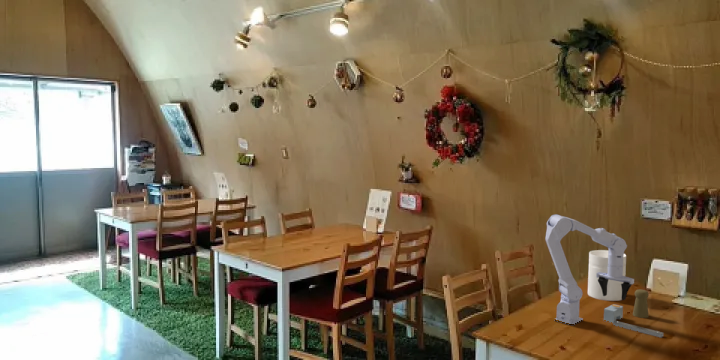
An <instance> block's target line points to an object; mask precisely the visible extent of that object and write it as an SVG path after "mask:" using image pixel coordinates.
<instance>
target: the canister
mask: <svg viewBox="0 0 720 360" xmlns="http://www.w3.org/2000/svg"><path fill="white" fill-rule="evenodd" d="M608 250H609V249H608ZM608 250H607V249H598V250H597V249H596V250H590V251H589V252H588V272H587V273H588V274H587V275H588V276H587V277H588V278H587V295H588V297H590V298H593V299H596V300H600V301H611V302H616V301H617V302H618V301H623V300H622V287H621V284H622V283H624V282H620V281H615V280H610V279H608V284H607V295H606V296H603V293H602V289H601V286H600V284H599V282H598V279H599V278H597V277H596V275H597V273H598V272H601V273H608ZM626 266H627V255H626V253H624V257H623V276H625V277H626V275H627V274H626V272H627V271H626Z"/></svg>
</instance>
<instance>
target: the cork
mask: <svg viewBox="0 0 720 360" xmlns="http://www.w3.org/2000/svg"><path fill="white" fill-rule="evenodd" d="M634 297H635V301H634V304H633V305H634V306H633V309H632V311H633V312H632V316H634V317H636V318H641V319H647V318H649V317H650V316H649V308H648V298H649V292H648V290H645V289H639V288H638V289H636V290H635V291H634Z"/></svg>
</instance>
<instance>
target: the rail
mask: <svg viewBox="0 0 720 360" xmlns="http://www.w3.org/2000/svg"><path fill="white" fill-rule="evenodd" d="M612 324H613V326H614V325H615V327H618V326H619V328H622V327H623V329H626V330H630V329H631V331H633V332H637V331H638V333H641V334H642V333H643V334H646V335H650V336H654V337H656V338H663V337H664V332H662V331H658V330H654V329H651V328H645V327H642V326H639V325H634V324H629V323H625V322H623V321H618V320H616V321H614V322H613V323H612Z"/></svg>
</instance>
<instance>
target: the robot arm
mask: <svg viewBox="0 0 720 360" xmlns="http://www.w3.org/2000/svg"><path fill="white" fill-rule="evenodd" d="M570 231H571V232H574V231H578V232H581V233H583V234H585V235H587V236H590V238H591V239H592V240H591V241H593V242H595V243H597V244H600V245H602V246H604V247H606V248H607V249H608V273H601V272H598V273H597V275H596V277H597V278H599V279H598V282H599V284H600V286H601V289H602V293H603V296H606V295H607V284H608V279H610V280H615V281H620V282H624V283H622V284H621V287H622V300H621V301H625V300H626V299H627V294H628V292H629V290H630V288H631V287H632V285H634V284H635V278H632V277H629V276H626V275H625V276H623V257H624V254H625V250H626V249H627V247H628V244H627V243H626V240H625V239H623V238H622V237H620V236H618V235H617V234H616V233H610V232H609V231H607V229H605V228H603V227H599V228H595V229H594V228H592V227H591V226H588V225H586V224H585V223H583V222H580V221H578V220H576V219H573V218H570V217H567V216H563V215H560V214H557V213H556V214H552V215H551V216H550V217H549V218H548V220H547V222H546V232H545V243H546V246H547V248H548V251H549V254H550V256H551V260H552V262H553V264H554V267H555V270H556V272H557V276H558V281H557V282H558V291H559V292H560V293H561V295H560V302H558V304H557V305H556V318H555V319H556V320H559V321H562V322H565V323H564V324H566V323H569V324H574V325H576V324H578V323H580V322H581V320H582V321H583V319H584V318H582V317H580V302H581V301H580V300H581V298H582V297H583V294H584V293H583V290H582V288H581V287H580V286H578V282H577V281H576V279H575V278H574V276H573V274H572V272H571V269H570V266H569V263H568V261H567V258H566V257H567V256H566V255H565V252H564V249H563V246H562V244H561V241H562V239H563V238H564V237H565V236H566V235H567V234H569V232H570ZM579 321H580V322H579ZM562 322H561V323H562ZM577 322H578V323H577ZM575 323H576V324H575ZM569 324H568V325H569Z"/></svg>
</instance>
